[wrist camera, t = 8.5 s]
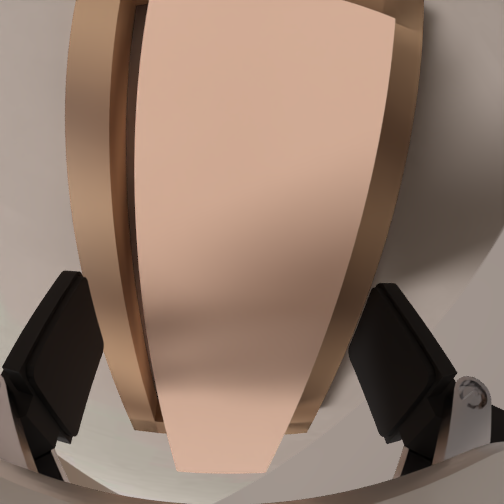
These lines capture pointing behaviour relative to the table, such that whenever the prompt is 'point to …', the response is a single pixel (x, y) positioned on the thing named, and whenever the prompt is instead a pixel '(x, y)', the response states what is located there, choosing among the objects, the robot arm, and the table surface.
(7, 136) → the table surface
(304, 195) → the pink rectangular block
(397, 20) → the brown wooden frame
